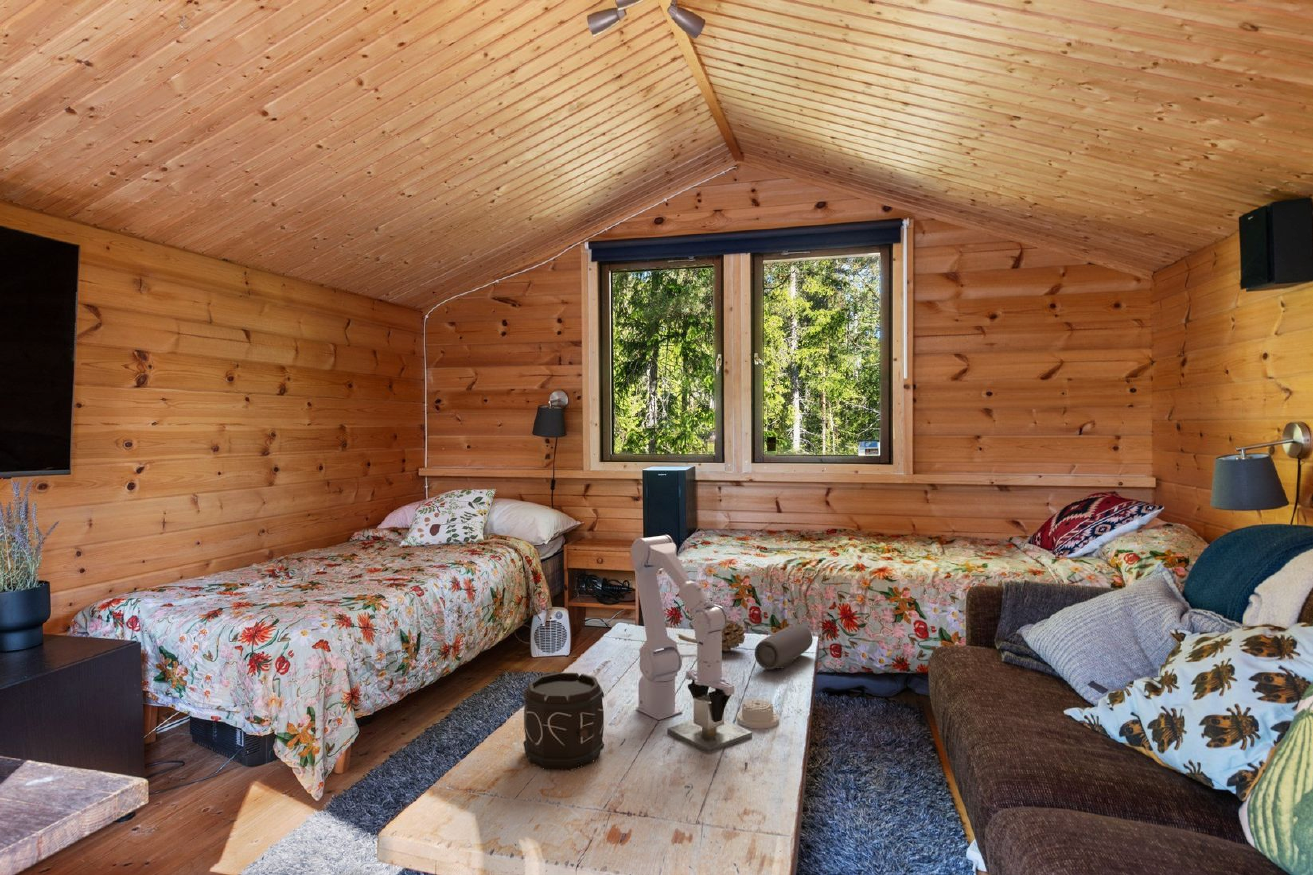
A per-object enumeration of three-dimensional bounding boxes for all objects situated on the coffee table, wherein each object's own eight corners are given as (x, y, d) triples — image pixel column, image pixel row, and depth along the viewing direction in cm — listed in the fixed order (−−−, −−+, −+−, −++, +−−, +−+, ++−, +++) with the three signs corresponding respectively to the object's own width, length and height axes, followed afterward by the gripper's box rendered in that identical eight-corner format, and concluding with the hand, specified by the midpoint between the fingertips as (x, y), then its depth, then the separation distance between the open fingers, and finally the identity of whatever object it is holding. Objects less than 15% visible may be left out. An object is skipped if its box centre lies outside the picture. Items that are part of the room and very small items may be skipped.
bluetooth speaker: (786, 651, 243) (787, 620, 243) (814, 656, 238) (814, 624, 237) (752, 670, 225) (752, 636, 224) (781, 676, 219) (781, 641, 219)
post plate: (667, 733, 179) (667, 715, 179) (711, 718, 188) (711, 701, 188) (707, 753, 168) (707, 734, 168) (752, 737, 177) (752, 719, 177)
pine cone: (741, 646, 249) (741, 615, 248) (749, 655, 239) (749, 623, 239) (674, 649, 245) (674, 618, 245) (679, 658, 236) (679, 626, 236)
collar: (693, 723, 178) (693, 697, 178) (709, 717, 181) (709, 692, 181) (708, 729, 174) (708, 703, 174) (724, 724, 178) (724, 698, 177)
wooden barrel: (543, 782, 155) (542, 705, 155) (510, 749, 170) (510, 679, 170) (620, 760, 165) (620, 688, 164) (582, 732, 180) (582, 665, 180)
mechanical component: (735, 728, 183) (777, 731, 181) (735, 709, 183) (777, 712, 181) (738, 712, 193) (778, 715, 191) (738, 695, 193) (778, 697, 191)
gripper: (676, 655, 181) (676, 711, 181) (718, 670, 170) (718, 731, 170) (698, 649, 185) (698, 705, 186) (740, 664, 174) (740, 723, 174)
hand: (709, 717), depth 178 cm, fingers closed on collar, 5 cm apart
